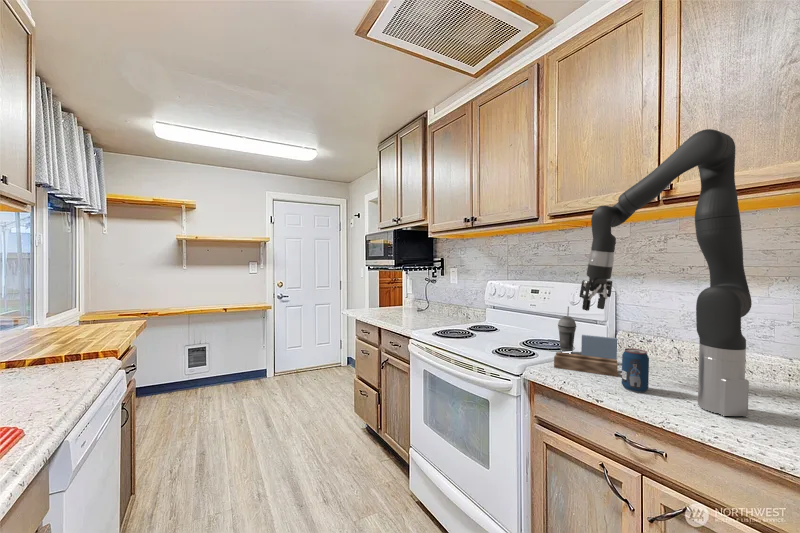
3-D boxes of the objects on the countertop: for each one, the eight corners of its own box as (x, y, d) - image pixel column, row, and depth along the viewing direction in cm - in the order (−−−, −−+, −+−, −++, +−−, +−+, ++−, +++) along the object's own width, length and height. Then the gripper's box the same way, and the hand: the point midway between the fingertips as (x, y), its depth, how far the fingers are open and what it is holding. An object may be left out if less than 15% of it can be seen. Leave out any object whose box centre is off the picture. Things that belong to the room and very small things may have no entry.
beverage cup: (572, 350, 157) (572, 305, 156) (578, 355, 149) (579, 307, 149) (554, 350, 157) (555, 304, 157) (560, 354, 150) (561, 307, 150)
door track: (616, 370, 129) (616, 359, 129) (617, 376, 122) (617, 365, 122) (556, 362, 139) (556, 351, 139) (553, 367, 132) (554, 356, 132)
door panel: (616, 364, 137) (617, 338, 137) (616, 365, 136) (617, 339, 135) (581, 359, 143) (582, 334, 143) (581, 360, 142) (581, 335, 141)
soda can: (638, 385, 114) (639, 347, 114) (653, 393, 107) (654, 353, 107) (616, 385, 114) (617, 347, 114) (630, 393, 107) (631, 353, 107)
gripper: (598, 266, 117) (590, 313, 120) (623, 265, 124) (615, 311, 127) (577, 262, 124) (570, 307, 126) (602, 262, 131) (595, 305, 133)
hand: (593, 309), depth 126 cm, fingers open, 8 cm apart
